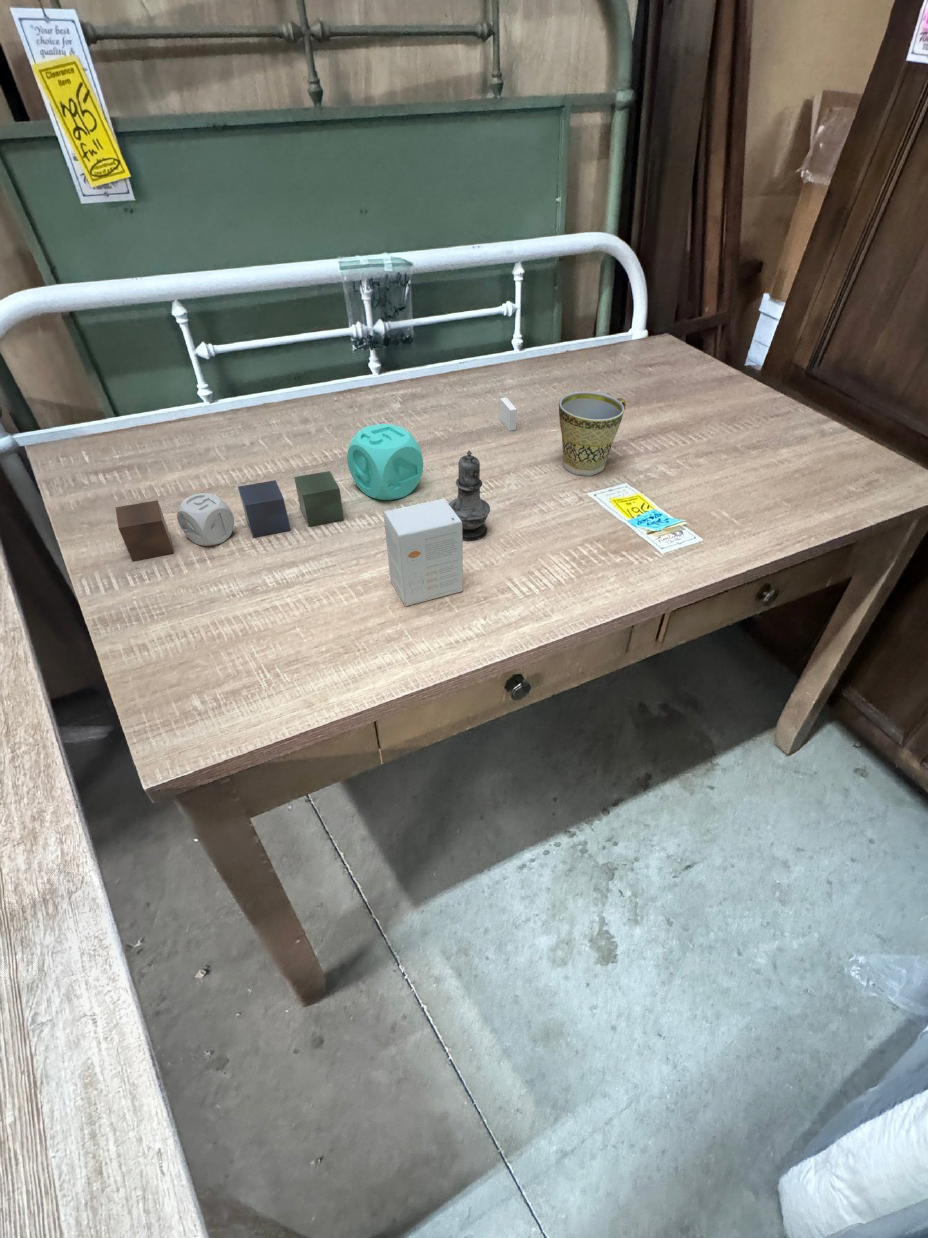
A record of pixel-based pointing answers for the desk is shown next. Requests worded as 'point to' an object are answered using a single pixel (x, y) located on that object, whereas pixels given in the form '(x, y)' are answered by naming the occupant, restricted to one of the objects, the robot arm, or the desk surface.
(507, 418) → the eraser
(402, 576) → the small box
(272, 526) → the row of mixed cubes
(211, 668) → the desk surface
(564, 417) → the ceramic cup
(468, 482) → the black chess piece
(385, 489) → the decorative dice
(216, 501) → the die
